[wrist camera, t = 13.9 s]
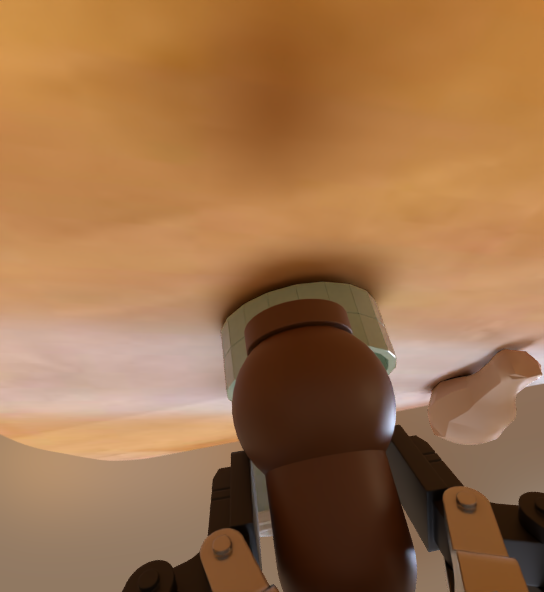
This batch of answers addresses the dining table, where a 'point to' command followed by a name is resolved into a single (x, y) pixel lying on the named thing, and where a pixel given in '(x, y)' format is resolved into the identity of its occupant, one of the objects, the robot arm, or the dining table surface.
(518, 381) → the squash
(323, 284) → the bowl
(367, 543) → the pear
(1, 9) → the dining table surface
